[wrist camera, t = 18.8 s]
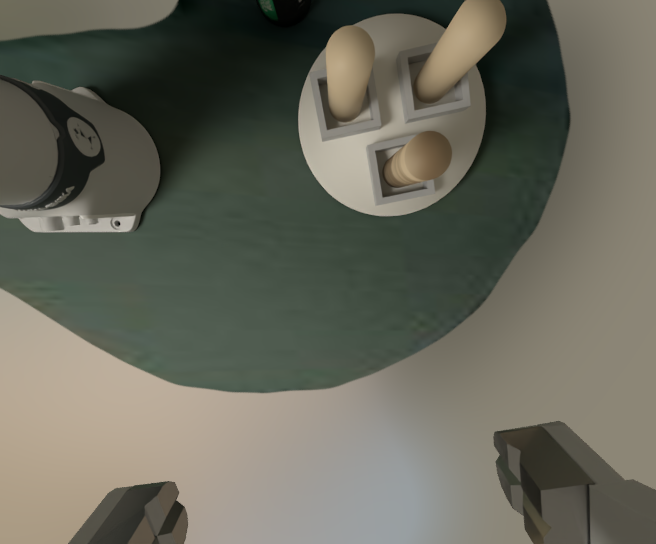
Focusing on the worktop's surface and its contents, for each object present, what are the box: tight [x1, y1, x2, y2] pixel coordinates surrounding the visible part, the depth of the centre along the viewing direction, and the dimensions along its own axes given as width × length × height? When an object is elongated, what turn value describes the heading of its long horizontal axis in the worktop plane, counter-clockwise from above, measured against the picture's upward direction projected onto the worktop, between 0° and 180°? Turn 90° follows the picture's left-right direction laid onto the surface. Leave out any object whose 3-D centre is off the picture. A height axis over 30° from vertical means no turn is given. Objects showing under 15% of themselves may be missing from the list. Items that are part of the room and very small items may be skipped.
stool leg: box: [382, 131, 452, 188], centre depth 33 cm, size 4×4×13 cm
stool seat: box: [298, 0, 506, 216], centre depth 33 cm, size 23×23×16 cm
